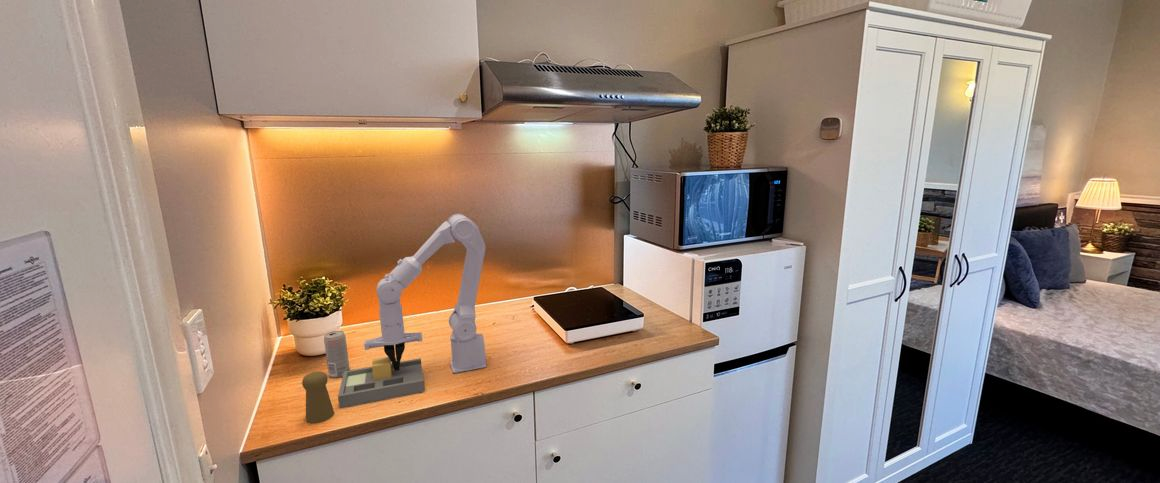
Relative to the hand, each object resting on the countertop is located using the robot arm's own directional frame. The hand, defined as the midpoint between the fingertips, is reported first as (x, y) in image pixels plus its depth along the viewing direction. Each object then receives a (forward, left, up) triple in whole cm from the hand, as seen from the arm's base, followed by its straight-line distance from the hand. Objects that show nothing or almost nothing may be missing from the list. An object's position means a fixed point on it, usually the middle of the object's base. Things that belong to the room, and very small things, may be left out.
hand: (396, 369), depth 128 cm
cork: (+17, +12, -3) cm, 21 cm away
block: (+4, 0, -1) cm, 4 cm away
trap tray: (+3, +3, -3) cm, 6 cm away
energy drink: (+15, -10, -3) cm, 19 cm away
